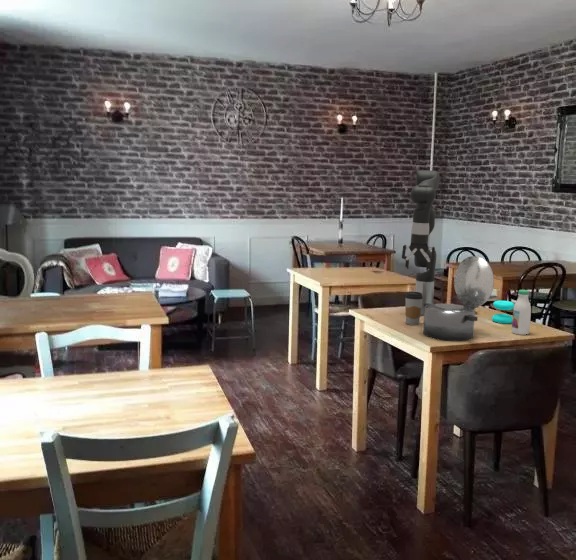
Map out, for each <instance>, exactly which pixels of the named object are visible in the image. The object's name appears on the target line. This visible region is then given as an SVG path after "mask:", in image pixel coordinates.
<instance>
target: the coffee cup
mask: <svg viewBox="0 0 576 560" xmlns="http://www.w3.org/2000/svg"><path fill="white" fill-rule="evenodd" d="M405 293H406V294H405V296H404V297H405V306H404V307H405V313H404V315H405V323H406V325H409V326H417V325H419V324H420V318H421V315H420V314H421V305H422V299H423V296H422V293H420V292H415V291H407V292H405Z"/></svg>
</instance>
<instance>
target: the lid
mask: <svg viewBox="0 0 576 560" xmlns="http://www.w3.org/2000/svg"><path fill="white" fill-rule="evenodd" d="M453 278H454V280H453V287H454V290H455V291H454V292H455V294H456V296H458V298H459V300H460V301H461V302H462V303H463V304H464V306H467V307H471V308H473V309H474V310H476V308H475V307H477V306H479V307H480V306H483V305H484V304H485V303H487V302H488V301H489V299H490V297H491V296H492V292H493V289H494V284H495V283H494V281H495V278H494V272H493V269H492V267H491V265H490V264H489V262H488V261H487V260H486V259H485V258H483V257H480V256H475V255H471V256H467V257H465V258H464V259H463V260H462V261H460V263H459V264H458V266H457V267H456V270H455V274H454V277H453ZM477 308H478V307H477Z"/></svg>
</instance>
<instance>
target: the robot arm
mask: <svg viewBox="0 0 576 560" xmlns="http://www.w3.org/2000/svg"><path fill="white" fill-rule="evenodd" d="M440 177H441V176H440V173H439V171H437V170H431V169H430V170H424V169H422V170H421V169H420V170H417V172H416V174H415V186H413V188H412V189H411V191H410V197H409V198H410V201H412V202H413V203H416V206H415V209H414V210H413V216H412V225H411V233H410V234H411V236H410V245H406V244H404V245H403V246H402V252H401V258H402V259H403V260H405V264H404V265H405V268H406V269H407V270H409V268H410V267H409V266H410V259H411V257H412V256H414V257H413V259H414V260H413V261H414V266H415V267H417V268H425V270H426V271H425V272H422V273H418V274H416V277H415V291H414V292H420V293H422V296H423V299H422V305H421V314H420V316H424V309H425V307H424V304H427V303H429V304H434V294H435V293H434V292H435V291H434V290H435V273H436V264H437V251H436V247H435V246H429V237H430V235H431V233H432V232H433V230H434V228H435V224H436V222H435V221H436V214H435V211H434V209H433V208H432V207H433V204H434V202H435V198H436V196H437V194H436V193H437V192H436V190H437V189H439V186H440V181H441V178H440ZM408 249H409V250H410V253H409V254H408V255H407V256H406V251H407V250H408Z"/></svg>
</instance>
